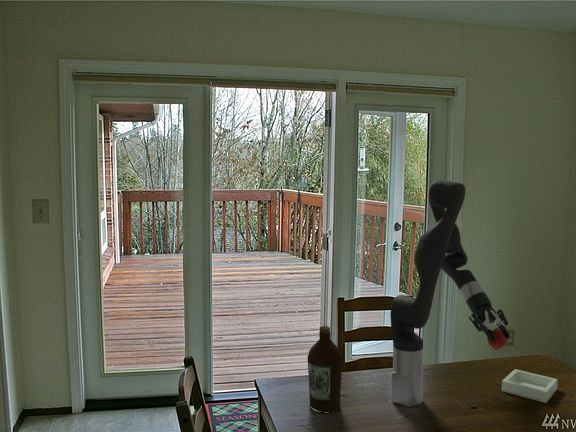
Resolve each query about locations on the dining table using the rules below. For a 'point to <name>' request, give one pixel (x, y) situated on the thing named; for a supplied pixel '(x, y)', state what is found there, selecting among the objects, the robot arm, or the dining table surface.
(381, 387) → the dining table surface
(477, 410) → the dining table surface
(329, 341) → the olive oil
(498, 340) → the onion
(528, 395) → the bin
